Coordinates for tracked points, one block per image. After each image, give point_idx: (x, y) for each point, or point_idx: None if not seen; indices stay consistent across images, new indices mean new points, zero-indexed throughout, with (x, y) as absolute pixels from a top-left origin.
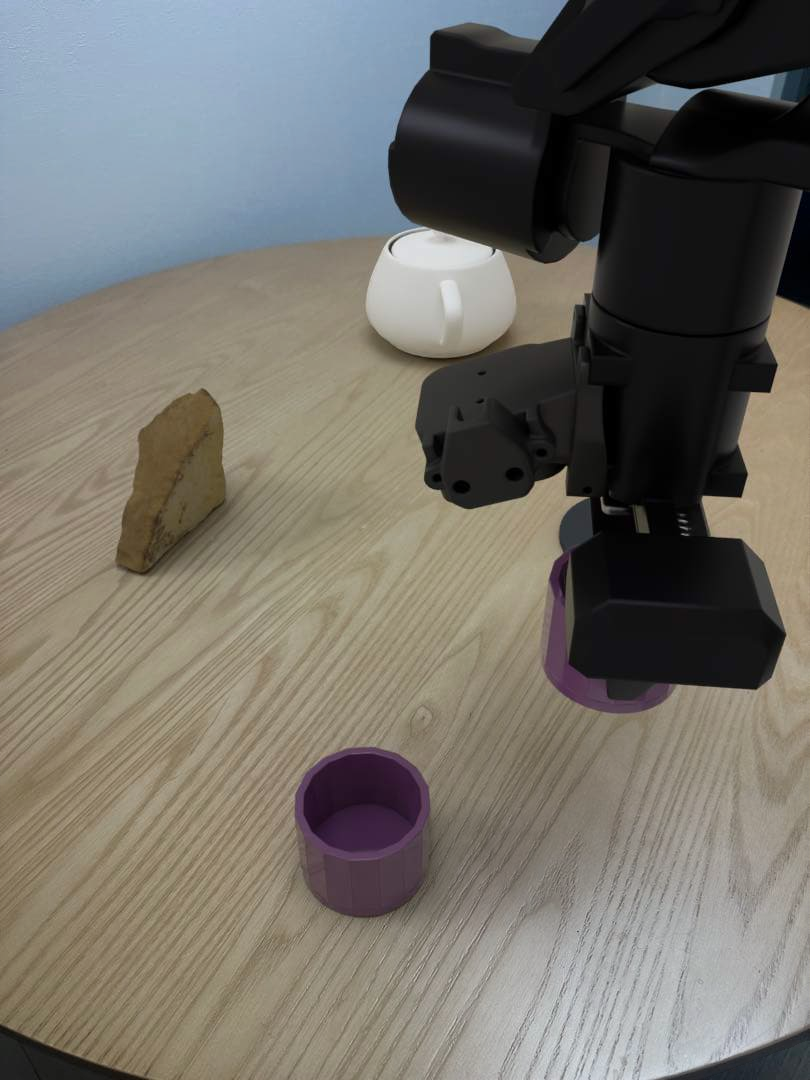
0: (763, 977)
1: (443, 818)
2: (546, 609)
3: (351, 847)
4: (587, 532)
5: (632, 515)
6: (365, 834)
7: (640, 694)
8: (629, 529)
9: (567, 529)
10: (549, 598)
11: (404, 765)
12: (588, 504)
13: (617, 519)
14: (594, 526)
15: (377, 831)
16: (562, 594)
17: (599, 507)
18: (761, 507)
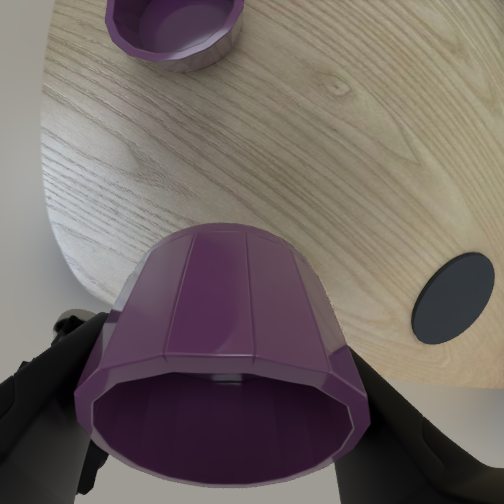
0: (101, 284)
1: (220, 86)
2: (234, 289)
3: (190, 11)
4: (473, 274)
5: (368, 486)
6: (202, 21)
7: None
8: (360, 462)
9: (481, 261)
10: (217, 322)
11: (212, 36)
12: (490, 280)
13: (378, 468)
14: (393, 434)
15: (203, 30)
16: (179, 372)
17: (408, 471)
18: (439, 368)
